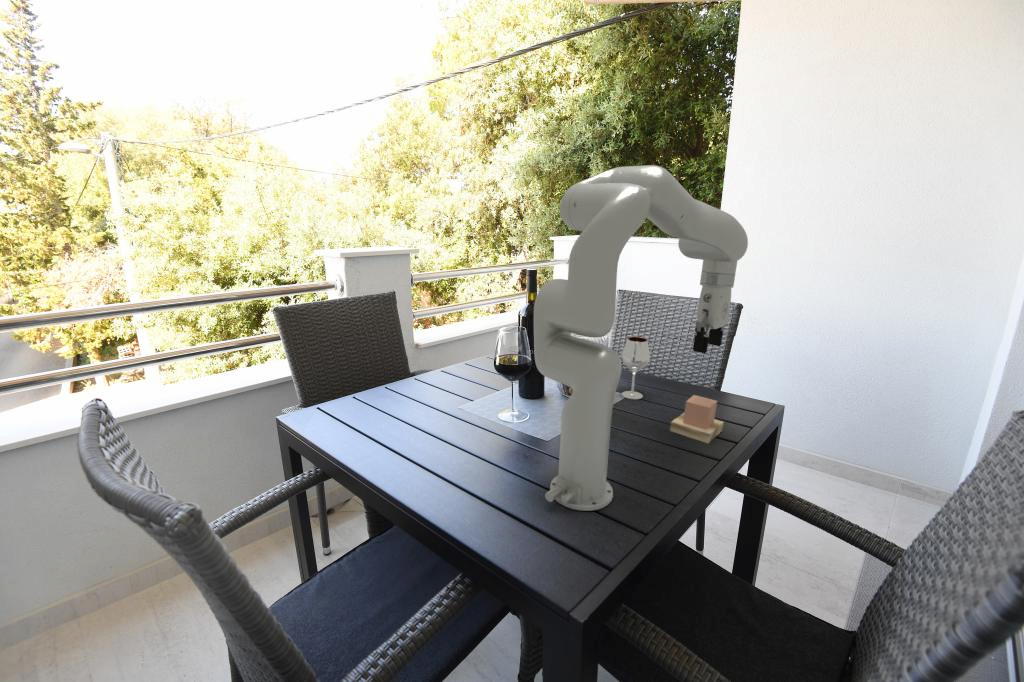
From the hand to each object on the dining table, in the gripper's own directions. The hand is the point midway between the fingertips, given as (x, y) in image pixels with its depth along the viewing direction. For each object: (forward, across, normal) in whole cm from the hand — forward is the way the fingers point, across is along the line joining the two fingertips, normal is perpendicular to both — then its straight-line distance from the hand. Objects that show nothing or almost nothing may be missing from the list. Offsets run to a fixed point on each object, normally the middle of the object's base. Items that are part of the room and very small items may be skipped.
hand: (707, 348), depth 120 cm
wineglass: (+23, +11, +24) cm, 35 cm away
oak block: (+23, +1, 0) cm, 23 cm away
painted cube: (+20, +1, 0) cm, 20 cm away
